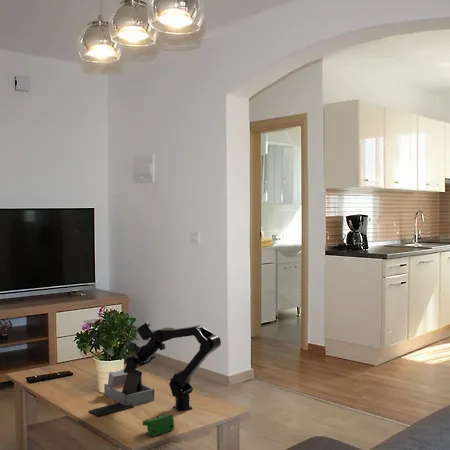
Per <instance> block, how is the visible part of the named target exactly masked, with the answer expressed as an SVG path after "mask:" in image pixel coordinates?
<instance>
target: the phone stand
mask: <svg viewBox="0 0 450 450" xmlns="http://www.w3.org/2000/svg"><path fill="white" fill-rule="evenodd" d="M142 375H143V372H142V371H140V370H138V369H135V370H133V371H130V372H127V377H126V380H125V383H124V387H123V390H122V393H124V394H126V395H128V394H133V393H138V392H142V384H143V381H142Z"/></svg>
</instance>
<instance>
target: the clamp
mask: <svg viewBox="0 0 450 450" xmlns="http://www.w3.org/2000/svg"><path fill="white" fill-rule="evenodd" d="M174 422H175V421H174V416H173V414H162V415H159V416H156V418H152V419H145V420H142V426H146V427H147V433H148V436H150V437H156V436H158V435H162V434H164V433H167V432H171V431H173V430H174V428H175V423H174Z"/></svg>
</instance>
